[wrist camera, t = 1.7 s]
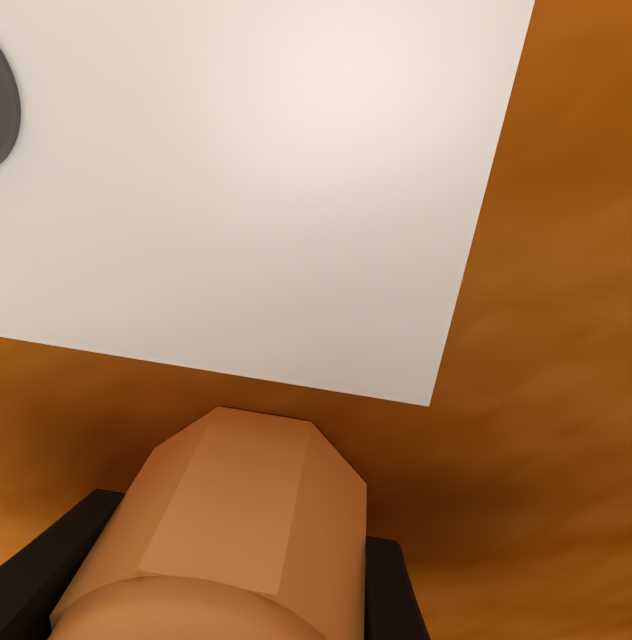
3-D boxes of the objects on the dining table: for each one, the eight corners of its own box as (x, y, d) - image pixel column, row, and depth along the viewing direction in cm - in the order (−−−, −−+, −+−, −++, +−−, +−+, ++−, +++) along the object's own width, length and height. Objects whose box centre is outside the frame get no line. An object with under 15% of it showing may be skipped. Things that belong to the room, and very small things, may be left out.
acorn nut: (380, 431, 10) (386, 776, 5) (346, 589, 12) (325, 952, 7) (151, 393, 11) (-69, 686, 5) (154, 554, 13) (-2, 881, 7)
